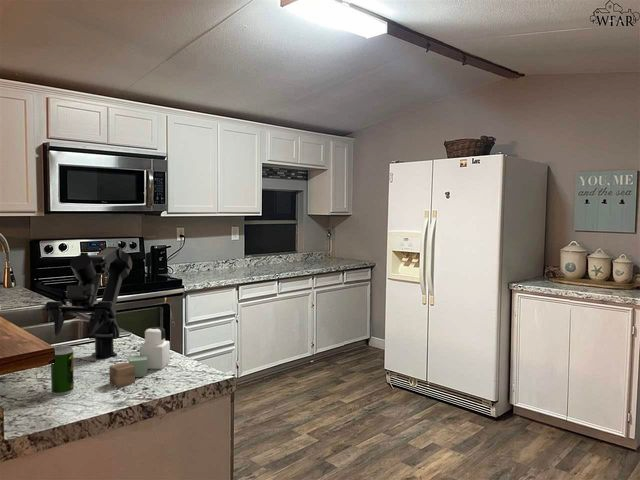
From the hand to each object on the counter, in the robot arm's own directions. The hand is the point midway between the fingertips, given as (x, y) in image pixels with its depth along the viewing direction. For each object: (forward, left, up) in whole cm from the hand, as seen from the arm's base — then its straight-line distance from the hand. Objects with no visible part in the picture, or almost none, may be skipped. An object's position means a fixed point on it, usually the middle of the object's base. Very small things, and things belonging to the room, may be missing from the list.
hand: (73, 335), depth 141 cm
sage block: (+3, +17, -14) cm, 22 cm away
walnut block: (+8, +11, -14) cm, 19 cm away
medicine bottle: (-2, +24, -14) cm, 28 cm away
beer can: (+6, -4, -14) cm, 16 cm away
